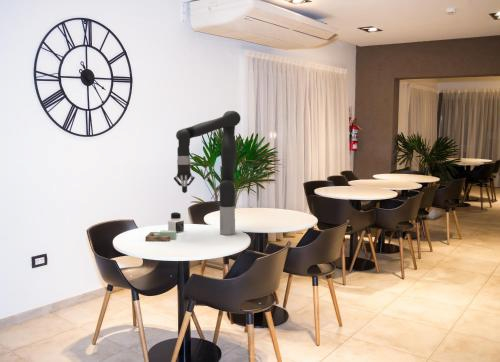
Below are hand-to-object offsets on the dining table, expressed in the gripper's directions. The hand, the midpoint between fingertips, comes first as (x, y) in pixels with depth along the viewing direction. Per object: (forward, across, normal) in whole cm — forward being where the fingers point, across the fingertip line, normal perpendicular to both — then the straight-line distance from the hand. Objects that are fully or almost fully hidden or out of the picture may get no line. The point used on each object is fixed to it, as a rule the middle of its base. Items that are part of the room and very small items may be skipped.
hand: (184, 192), depth 279 cm
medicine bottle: (+27, +9, -17) cm, 33 cm away
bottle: (+25, +6, +3) cm, 26 cm away
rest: (+27, +14, +3) cm, 30 cm away
